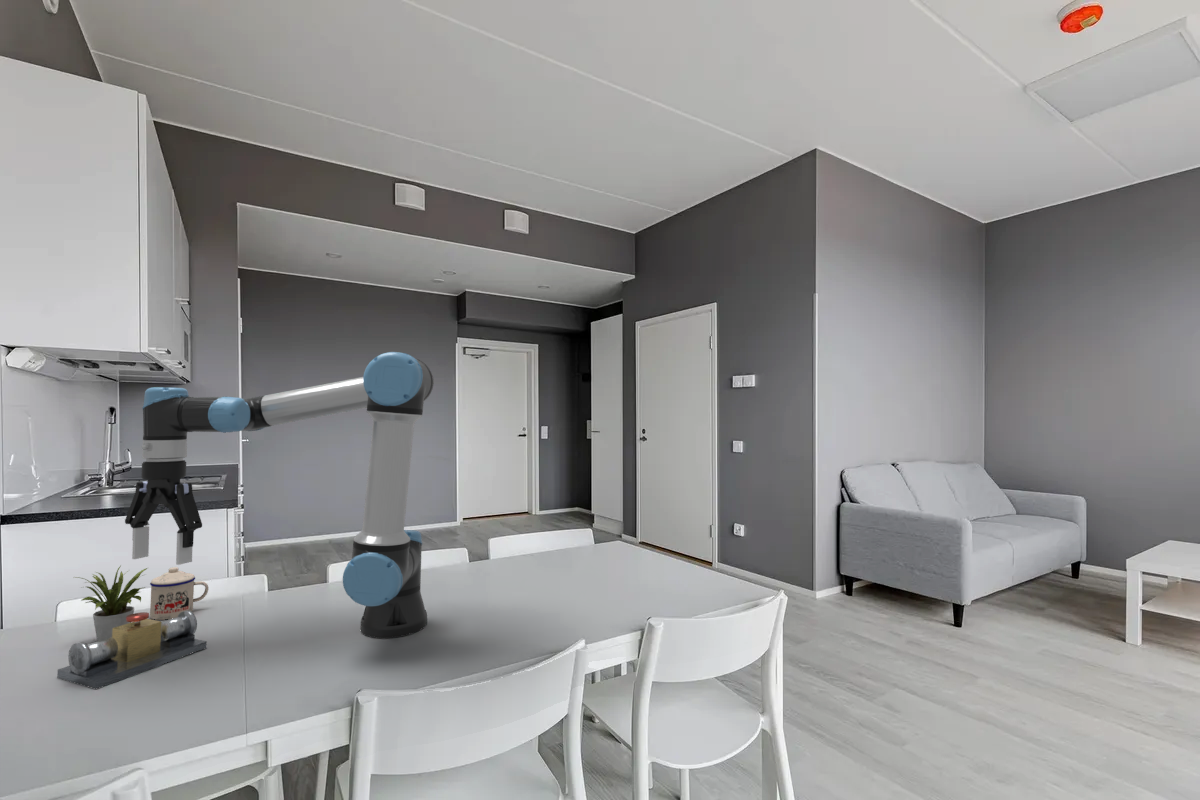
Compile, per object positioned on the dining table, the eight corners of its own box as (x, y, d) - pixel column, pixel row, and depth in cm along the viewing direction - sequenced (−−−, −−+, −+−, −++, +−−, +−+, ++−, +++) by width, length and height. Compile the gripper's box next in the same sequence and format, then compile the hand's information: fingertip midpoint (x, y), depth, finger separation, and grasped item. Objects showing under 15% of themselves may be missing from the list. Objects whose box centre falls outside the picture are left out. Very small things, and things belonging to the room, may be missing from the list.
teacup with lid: (148, 623, 136) (150, 574, 136) (148, 613, 143) (150, 566, 143) (209, 613, 143) (210, 567, 144) (206, 604, 150) (207, 560, 151)
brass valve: (144, 647, 118) (146, 609, 118) (160, 651, 116) (161, 612, 117) (111, 658, 113) (113, 618, 113) (127, 662, 111) (128, 621, 111)
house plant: (51, 659, 115) (55, 579, 116) (70, 637, 127) (73, 563, 127) (141, 645, 123) (144, 570, 123) (150, 625, 134) (153, 556, 135)
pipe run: (169, 639, 126) (171, 606, 126) (206, 648, 122) (207, 614, 122) (57, 677, 107) (59, 638, 108) (95, 689, 103) (97, 648, 103)
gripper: (106, 459, 121) (103, 559, 120) (187, 462, 112) (184, 570, 112) (144, 457, 128) (141, 551, 127) (223, 460, 119) (221, 561, 119)
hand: (161, 560), depth 119 cm, fingers open, 13 cm apart
